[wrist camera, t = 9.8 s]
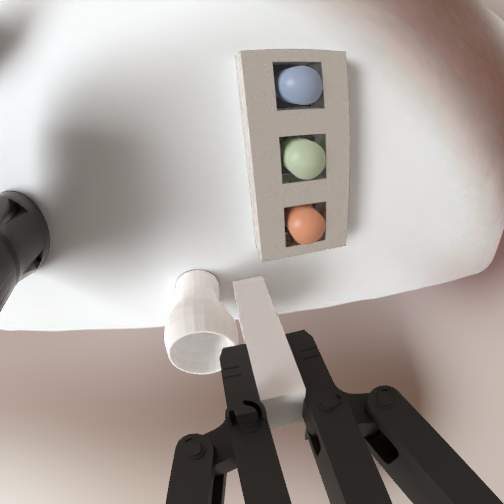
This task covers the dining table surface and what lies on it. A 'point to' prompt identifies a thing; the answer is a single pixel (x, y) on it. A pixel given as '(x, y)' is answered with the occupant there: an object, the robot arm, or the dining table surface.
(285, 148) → the button sage
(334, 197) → the panel
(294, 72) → the button slate
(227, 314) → the cup
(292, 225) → the button terracotta
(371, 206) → the dining table surface
